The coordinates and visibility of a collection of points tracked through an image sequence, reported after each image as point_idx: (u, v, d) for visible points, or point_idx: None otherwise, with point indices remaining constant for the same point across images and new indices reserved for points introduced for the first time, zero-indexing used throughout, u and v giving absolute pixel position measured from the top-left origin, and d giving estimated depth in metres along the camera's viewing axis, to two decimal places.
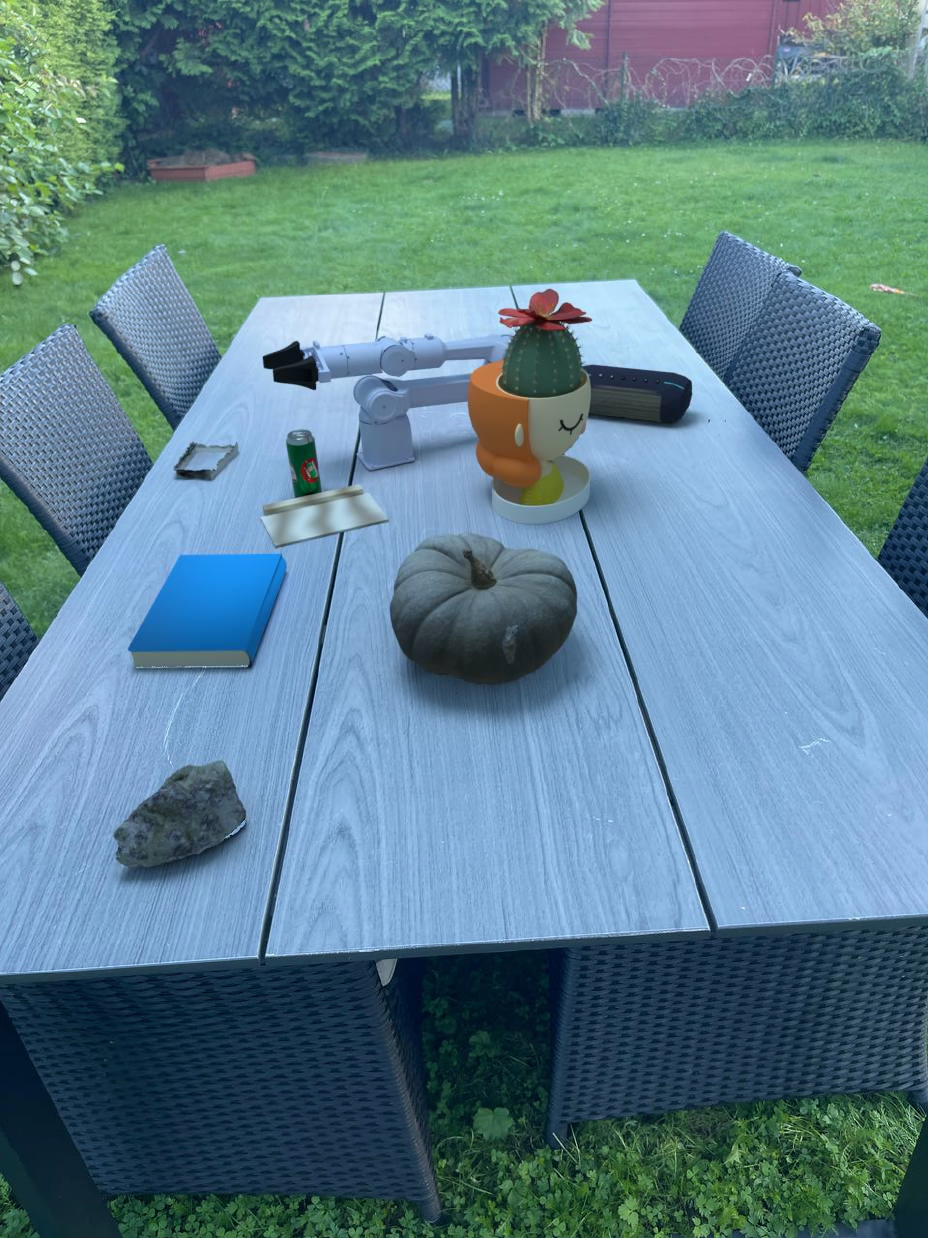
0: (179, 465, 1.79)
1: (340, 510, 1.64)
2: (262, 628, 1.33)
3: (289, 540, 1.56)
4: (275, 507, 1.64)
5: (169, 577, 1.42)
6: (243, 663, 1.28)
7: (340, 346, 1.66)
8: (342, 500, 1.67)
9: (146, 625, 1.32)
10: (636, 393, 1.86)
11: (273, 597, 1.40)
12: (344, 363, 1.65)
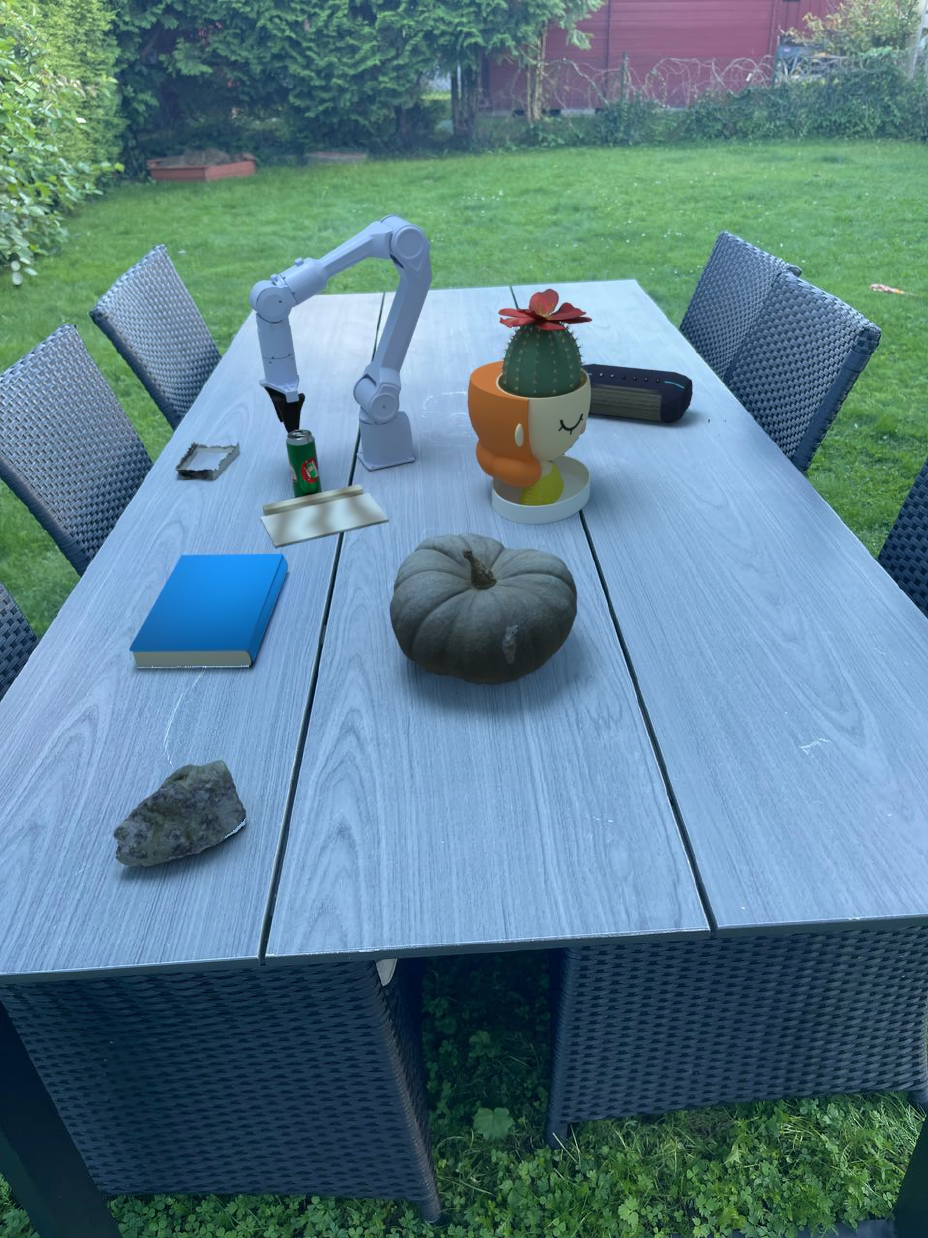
0: (181, 465, 1.79)
1: (340, 510, 1.64)
2: (263, 628, 1.33)
3: (289, 540, 1.56)
4: (275, 507, 1.64)
5: (170, 577, 1.42)
6: (245, 663, 1.28)
7: (263, 358, 1.62)
8: (342, 500, 1.67)
9: (148, 625, 1.32)
10: (636, 392, 1.87)
11: (274, 597, 1.40)
12: (279, 361, 1.60)
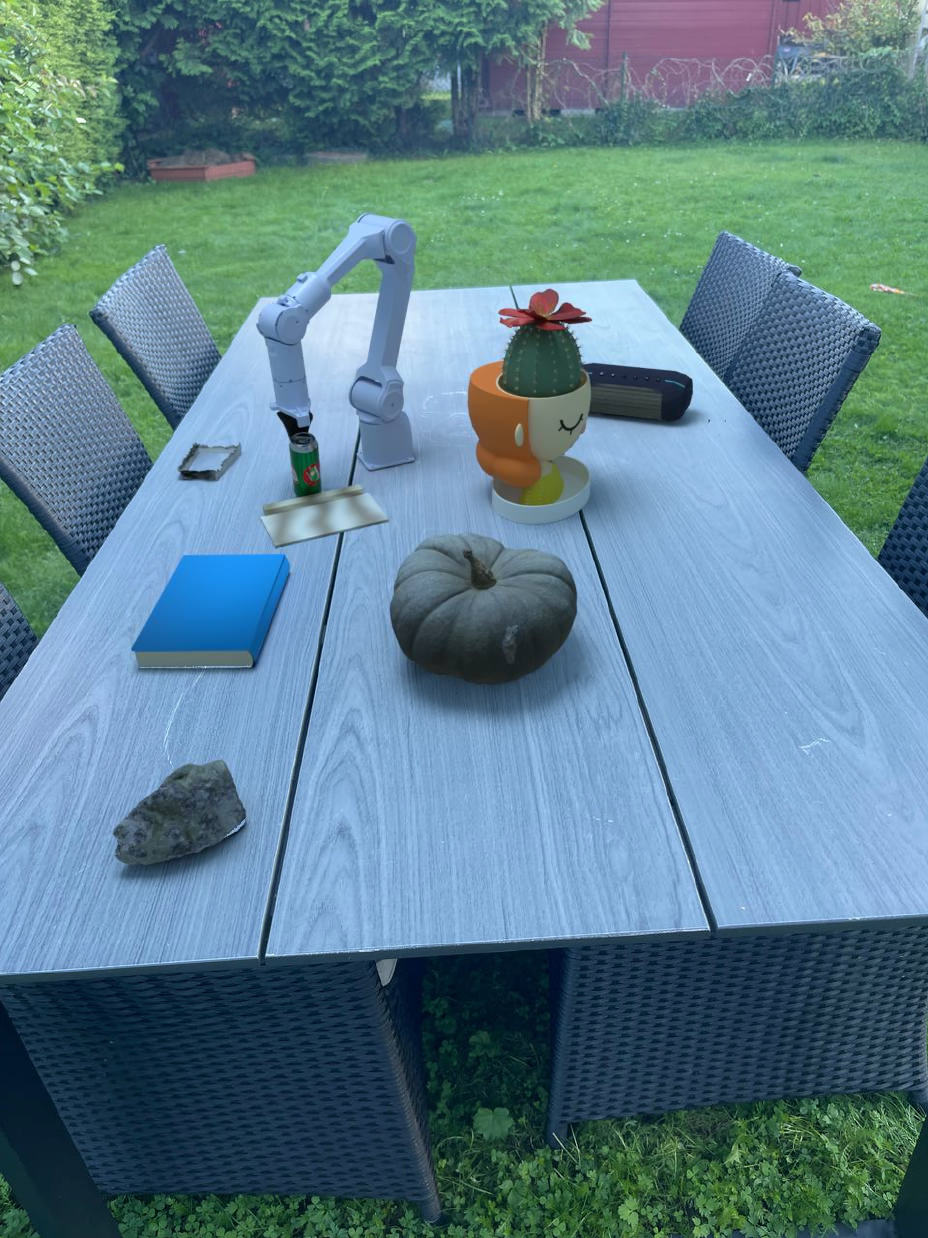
0: (183, 466, 1.79)
1: (340, 510, 1.64)
2: (265, 628, 1.33)
3: (289, 540, 1.56)
4: (275, 507, 1.64)
5: (172, 577, 1.42)
6: (247, 663, 1.28)
7: (273, 382, 1.58)
8: (342, 500, 1.67)
9: (150, 625, 1.31)
10: (637, 391, 1.87)
11: (276, 597, 1.40)
12: (290, 385, 1.56)
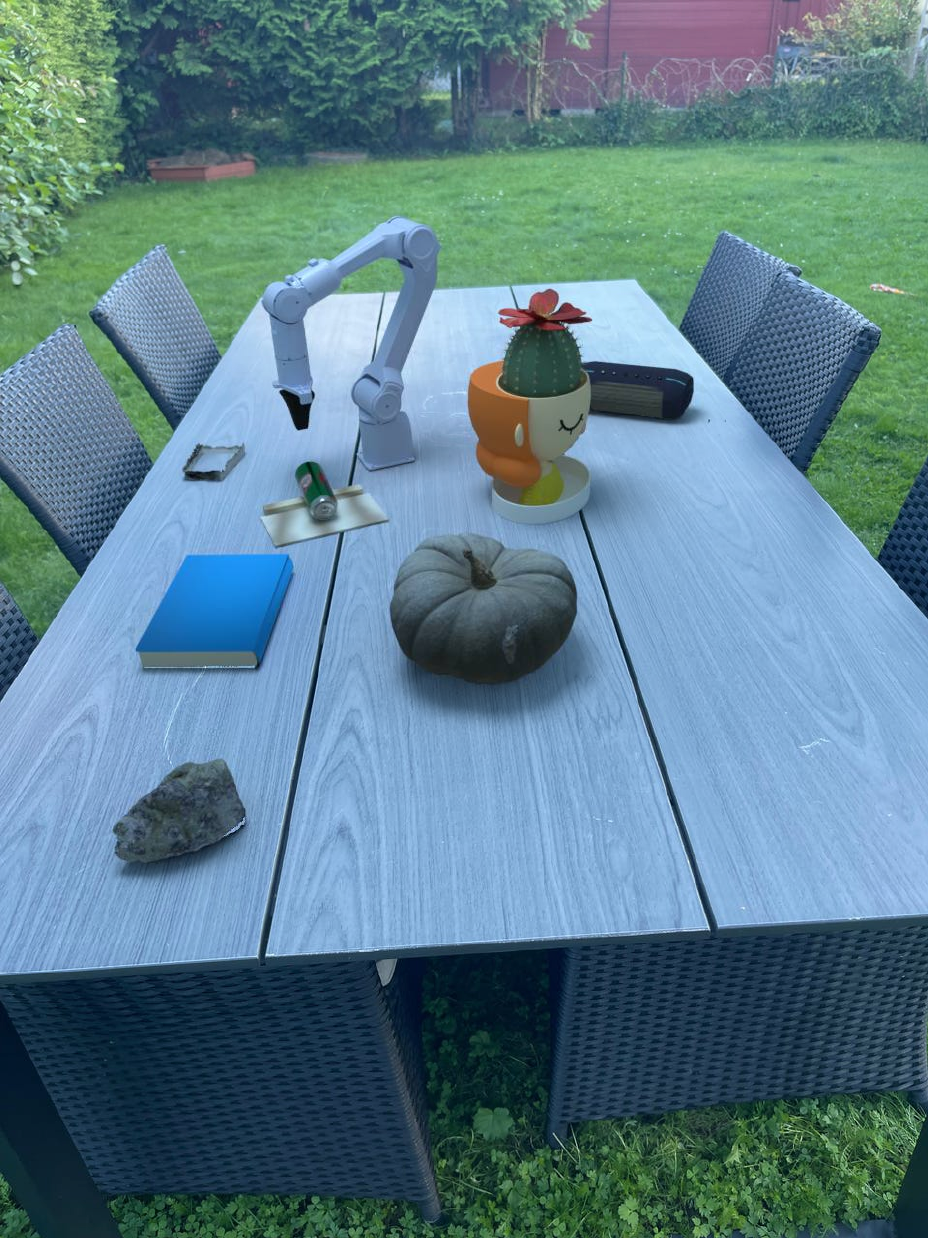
0: (187, 467, 1.79)
1: (340, 510, 1.64)
2: (269, 629, 1.33)
3: (289, 540, 1.56)
4: (275, 507, 1.64)
5: (176, 577, 1.42)
6: (251, 664, 1.28)
7: (276, 360, 1.61)
8: (342, 500, 1.67)
9: (154, 626, 1.31)
10: (638, 389, 1.88)
11: (280, 598, 1.39)
12: (293, 363, 1.60)
